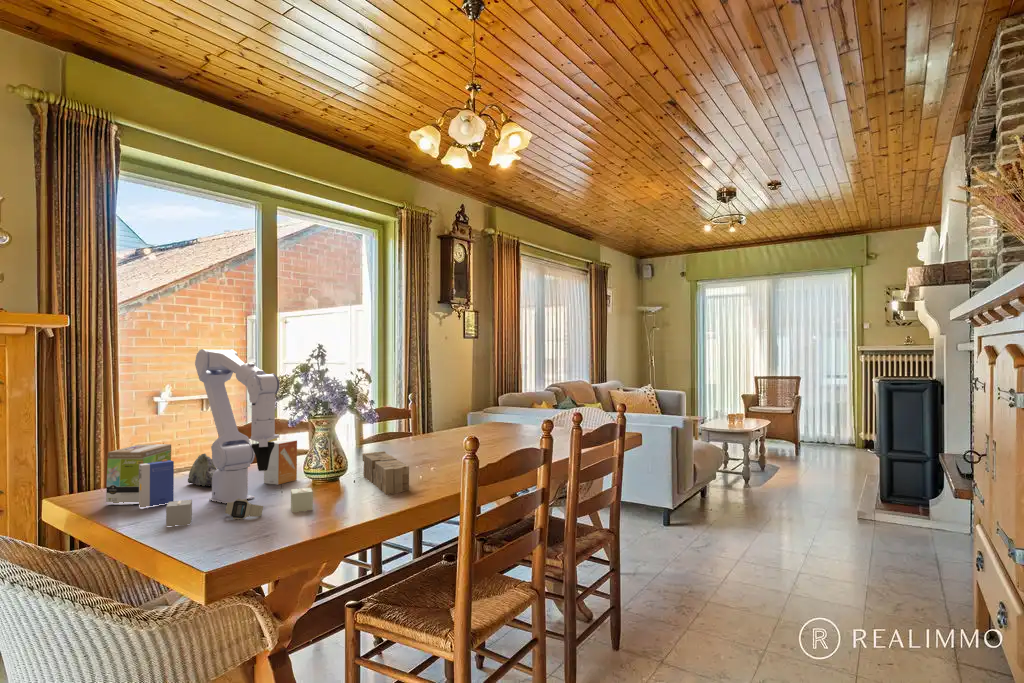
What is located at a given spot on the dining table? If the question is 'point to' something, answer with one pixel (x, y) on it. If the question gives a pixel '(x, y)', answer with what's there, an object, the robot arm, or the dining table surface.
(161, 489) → the blue carton
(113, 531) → the dining table surface
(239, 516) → the wristwatch
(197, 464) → the mineral rock
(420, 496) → the dining table surface
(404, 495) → the dining table surface
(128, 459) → the tea box
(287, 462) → the small box
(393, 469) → the block tower
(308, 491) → the block marked 7
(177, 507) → the block marked 1
